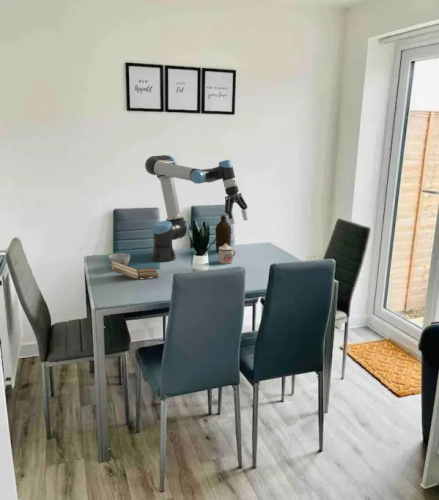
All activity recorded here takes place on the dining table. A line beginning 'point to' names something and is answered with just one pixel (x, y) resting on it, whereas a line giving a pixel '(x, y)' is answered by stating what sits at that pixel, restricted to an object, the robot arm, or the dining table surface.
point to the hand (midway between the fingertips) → (239, 222)
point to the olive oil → (222, 233)
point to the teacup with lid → (226, 254)
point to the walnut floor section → (147, 272)
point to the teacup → (120, 258)
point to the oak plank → (124, 270)
